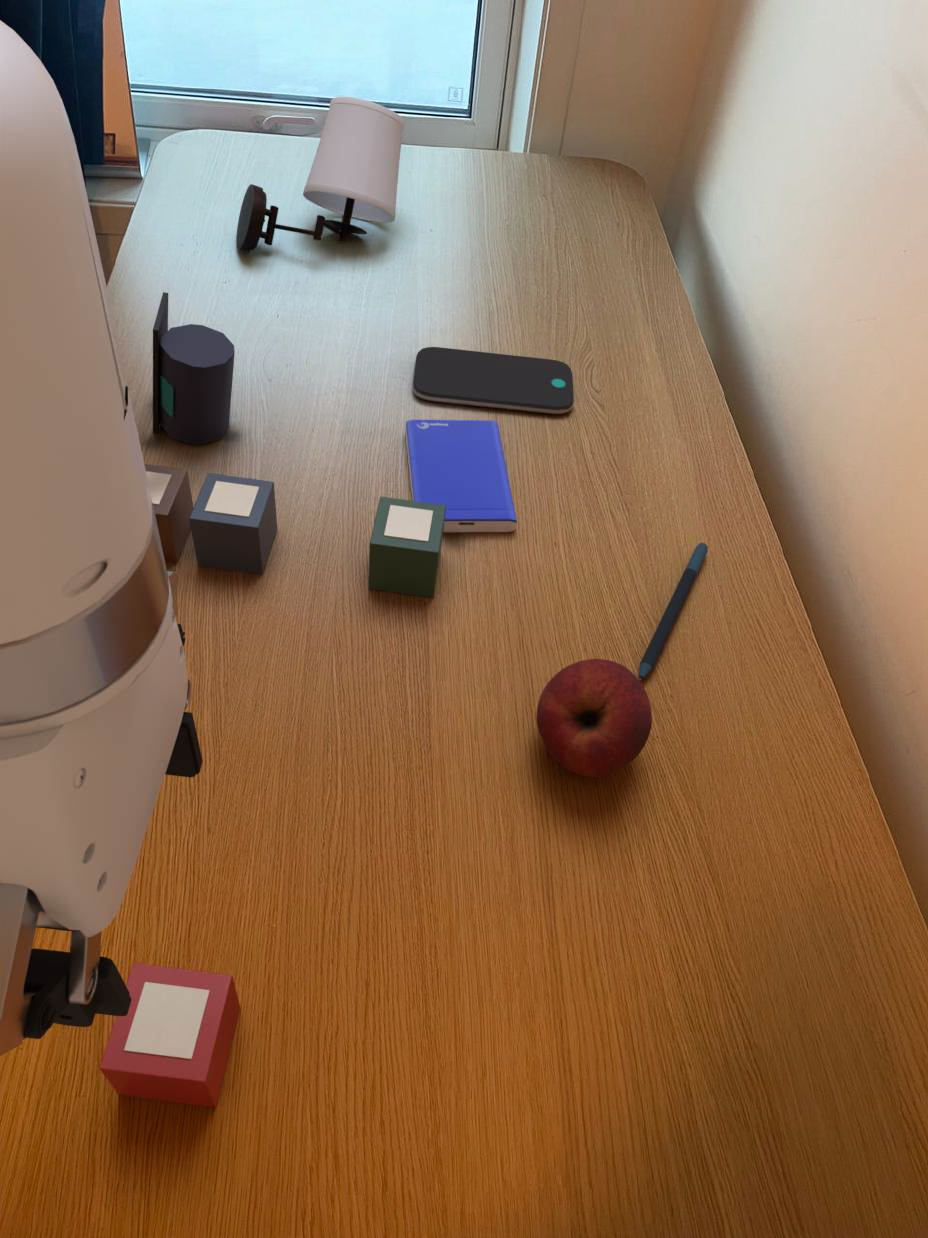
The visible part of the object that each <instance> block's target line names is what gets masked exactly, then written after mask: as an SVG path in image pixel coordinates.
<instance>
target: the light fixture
mask: <svg viewBox="0 0 928 1238" xmlns="http://www.w3.org/2000/svg"><path fill="white" fill-rule="evenodd" d="M328 107H329V108H328V111H327V115H326V118H325V122H324V124H323V125H324V126H323V129H322V133H321V136H320V139H319V143H318V145H317V149H316V152H315V155H314V158H313V162H312V164H311V168H310V171H309V173H308V176H307V179H306V183H305V185H304V189H303V191H302V196H303V198H305V199H306V200H307V201H308V202H310V203H311V204H314V205H316V206H318V207H320V208H322V209H325V210H329V211H330V212H333V213H336V214H338V215H339V214H340V215H342V219H341V221H339V220H334V219H326V217H325V216H324V215H321V214H317V216H316V221H315V225H314V230H311V229H306V228H301V227H300V228H299V227H296V226H295V227H294V226H289V225H284V224H280V223H279V224H278V223H277V220H278V214H279V207H278V206H276V205H270V208H267V202H268V201H267V200H268V199H267V193H266V192H265V191H264V188H263V187H261V186H258V185H255V184H249V185H248V187H247V189H246V191H245V194H244V196H243V199H242V202H241V207H240V211H239V216H238V221H237V227H236V237H235V239H236V241H235V244H236V249H237V250H238V251H242V252H245V253H251V251H254V250H256V248H257V246H258V244H259V241H260V239H263V243H264V244H265V245H266V246H267V245H268V246H272V245H273V242H274V235H275V230H281V231H287V232H292V233H296V234H303V235H308V236H312V238H313V240H314V241H316V242H321V241H322V237H323V232H324V228H326V229H327V230H329V231H331V232H332V233H334V234H336V235H338V242H340V243H343V244H347V242H348V237H349V234H351V235H352V234H353V235H360V236H361V235H362V236H365V235H367V234H368V231H366V230H365V229H363V228H361V227H359V226H356V225H355V224H351V222H352V218H354V219H358V220H362V221H368V222H373V223H392V222H394V221H395V220H396V209H397V196H398V183H399V172H400V171H399V169H400V159H401V151H402V140H403V135H404V134H403V133H404V127H405V121H404V119H403V118H402V116H400V115H399V114H398V113H396V111H393V110H392V109H391V108H388V107H386V106H384V105H382V104H378V103H376V102H373V101H370V100H367V99H363V98H358V97H353V96H336V97H333V98H331V100H330V103H329V106H328ZM266 217H268V219H267V224H266V230H265V231H263V228H264V224H265V222H266Z"/></svg>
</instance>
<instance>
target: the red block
mask: <svg viewBox="0 0 928 1238" xmlns="http://www.w3.org/2000/svg"><path fill="white" fill-rule="evenodd" d="M125 985H126V987H127V989H128V991H129V992H130V994H129V995H130V997H131V999H132V1001H131V1004H130V1007H129V1011H128V1014H127V1015H126V1016H115V1018H114V1022H113V1024H112V1028H111V1029H110V1030H111V1031H110V1034H109V1037H108V1040H107V1043H106V1046H105V1049H104V1052H103V1055H102V1059H101V1062H100V1065H99V1070H100V1072H101V1074H102V1075H104V1077H105V1078H106V1079H107V1081H108V1083H109V1084H110V1085H111V1087H112V1088H113V1089H114V1090H115V1092H116V1093H117V1095H118V1096H121V1097H122V1096H123V1097H131V1098H139V1099H145V1100H146V1099H147V1100H154V1101H162V1102H168V1103H169V1102H170V1103H178V1104H185V1105H186V1104H187V1105H193V1106H201V1107H208V1108H209V1107H210V1108H217V1106H218V1103H219V1098H220V1094H221V1090H222V1086H223V1082H224V1077H225V1074H226V1069H227V1064H228V1061H229V1057H230V1052H231V1049H232V1044H233V1041H234V1037H235V1032H236V1028H237V1023H238V1019H239V1015H240V1012H241V1004H240V1001H239V996H238V993H237V989H236V985H235V981H234V978H233V975H232V974H226V973H218V972H210V971H202V970H195V969H187V968H178V967H171V966H165V965H164V966H163V965H156V964H148V963H141V962H133V963H132V966H131V968H130V972H129V974H128V977H127V981H126V983H125Z"/></svg>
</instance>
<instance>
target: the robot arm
mask: <svg viewBox="0 0 928 1238" xmlns="http://www.w3.org/2000/svg"><path fill="white" fill-rule="evenodd" d="M54 81H55V80H54V79H53V78H52V76H51V75H50V73H49V71H48V70H47V69H46V67H45V65H44V63H43V62H42V60H41V59H40V58H39V57H38V55H36V53H35V52H34V51H33V49H32V48H31V46H29V45H28V44H27V42H25V41H24V39H23V38H22V37H21V36H20V35H19V34H18V33H17V32H16V31H15V30H14V29H13V28H11V27H10V26H8V25H7V24H6V23H5V22H3V21H2V20H1V19H0V1057H1V1056H3V1055H5V1054H7V1053H9V1052H11V1051H12V1050H14V1049H16V1048H17V1047H19V1046H21V1045H23V1042H24V1040H27V1039H32V1040H33V1039H34V1040H40V1039H42V1038H43V1037H44V1036H45V1035H46V1033H47V1032H48V1031H49V1030H50V1029H51V1028H52V1027H53V1025H54V1024H56V1025H62V1026H67V1027H77V1028H88V1027H91V1026H92V1025H93V1023H94V1020H95V1017H96V1015H97V1014H98V1015H103V1016H114V1017H116V1016H126V1015H127V1014H128V1011H129V1007H130V1004H131V1001H132V999H131V997H130V995H129V994H130V992H129V991H128V989H127V987H126V983H125V981H124V979H123V977H122V975H121V974H120V971H119V970H118V968H117V966H116V964H115V962H114V960H113V959H112V958H109V957H106V956H101V946H102V931H103V930H105V929H106V928H107V927H108V926H110V925H111V923H112V922H113V921H114V919H115V918H116V916H117V915H118V913H119V910H120V908H121V906H122V904H123V901H124V898H125V896H126V893H127V890H128V887H129V886H130V885H129V884H130V882H131V879H132V876H133V873H134V870H135V867H136V865H137V861H138V858H139V856H140V853H141V850H142V847H143V843H144V840H145V837H146V835H147V831H148V828H149V827H150V826H149V825H150V822H151V819H152V816H153V813H154V811H155V807H156V804H157V801H158V798H159V795H160V791H161V788H162V785H163V782H164V780H165V775H166V776H175V777H182V778H183V777H184V778H195V777H196V775H199V774H200V773H201V769H202V767H203V766H202V765H203V763H204V760H203V755H202V750H201V747H200V742H199V738H198V733H197V729H196V724H195V719H194V713H193V712H189V711H185V710H187V708H188V706H189V704H190V700H191V695H192V683H191V680H190V679H188V669H187V661H186V656H185V650H184V647H185V643H186V637H184V636H186V632H185V631H183V625H182V624H181V623H178V622H177V618H176V617H177V616H178V573H177V572H176V571H175V570H168V569H167V568H168V567H167V563H166V561H165V559H164V554H163V549H162V545H161V540H160V535H159V530H158V526H157V521H156V516H155V512H154V507H153V503H152V498H151V493H150V488H149V484H148V479H147V474H146V470H145V465H144V464H145V461H144V457H143V452H142V445H141V442H140V438H139V437H140V436H139V433H138V432H139V431H138V428H137V424H136V419H135V414H134V409H133V405H132V400H131V396H130V395H131V394H130V391H129V386H128V381H127V376H126V371H125V367H124V361H123V356H122V353H121V348H120V343H119V338H118V335H117V330H116V324H115V320H114V315H113V311H112V306H111V301H110V296H109V291H108V287H107V281H106V279H105V273H104V269H103V264H102V259H101V254H100V250H99V245H98V241H97V236H96V231H95V227H94V226H95V225H94V221H93V217H92V212H91V208H90V202H89V198H88V192H87V190H86V184H85V180H84V179H85V178H84V174H83V170H82V165H81V160H80V156H79V152H78V148H77V144H76V143H77V142H76V139H75V136H74V132H73V130H72V126H71V122H70V119H69V116H68V113H67V111H66V107H65V105H64V102H63V99H62V97H61V95H60V92H59V90H58V88H57V85H56V84H55V82H54ZM37 928H38V929H47V930H55V931H64V932H70V943H69V951H62V950H54V949H53V950H52V949H46V948H45V949H43V948H35V947H33V945H34V940H35V935H36V930H37Z"/></svg>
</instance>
